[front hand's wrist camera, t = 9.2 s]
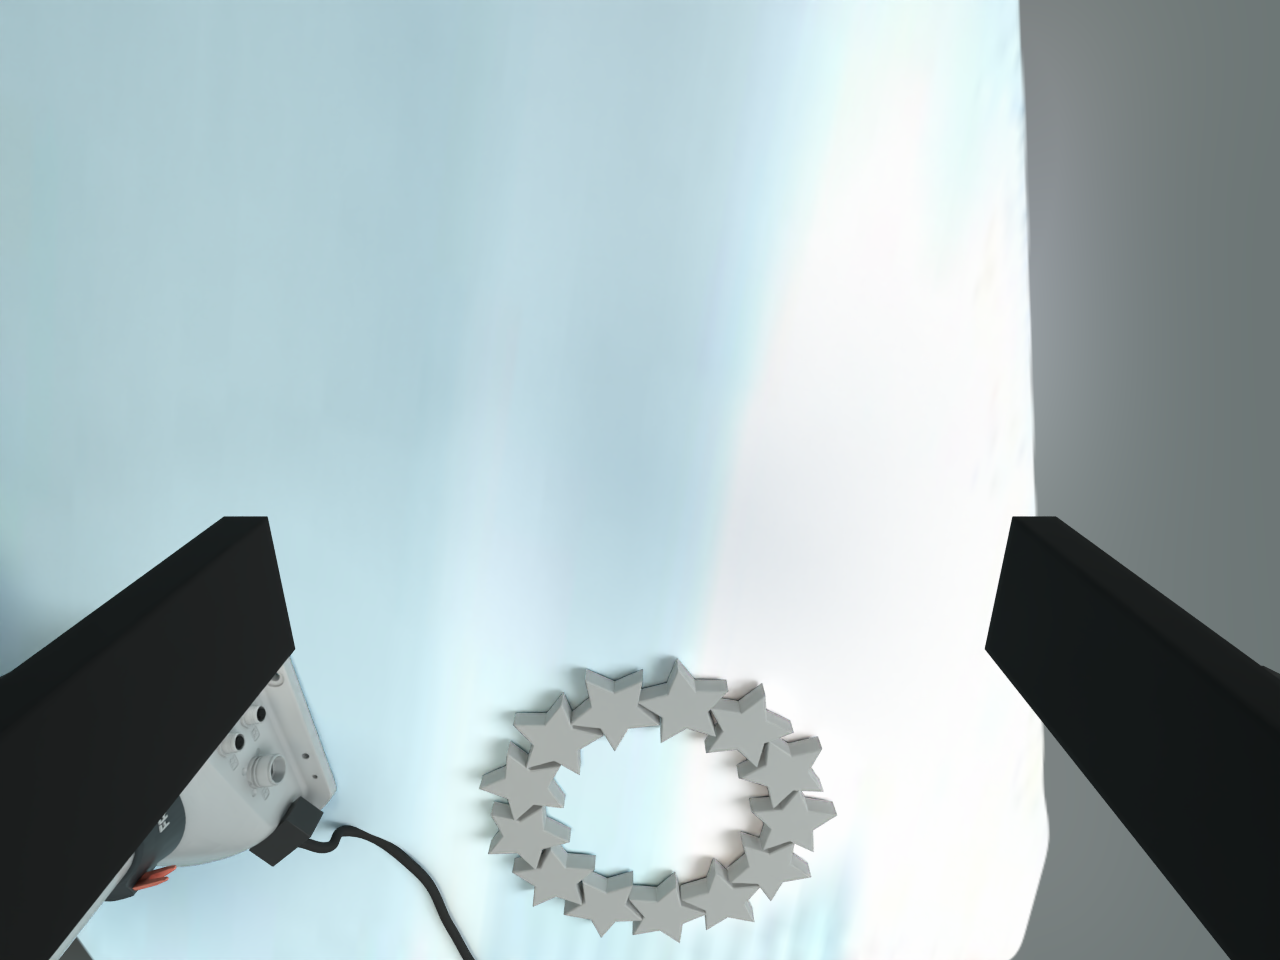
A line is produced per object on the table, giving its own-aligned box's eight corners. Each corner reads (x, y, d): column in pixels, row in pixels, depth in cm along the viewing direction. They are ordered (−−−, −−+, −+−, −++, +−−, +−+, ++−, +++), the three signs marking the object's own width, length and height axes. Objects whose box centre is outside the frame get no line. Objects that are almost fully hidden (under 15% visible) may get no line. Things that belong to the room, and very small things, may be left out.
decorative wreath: (459, 669, 55) (509, 935, 66) (454, 682, 54) (506, 952, 64) (838, 647, 54) (827, 920, 65) (843, 659, 53) (832, 936, 63)
